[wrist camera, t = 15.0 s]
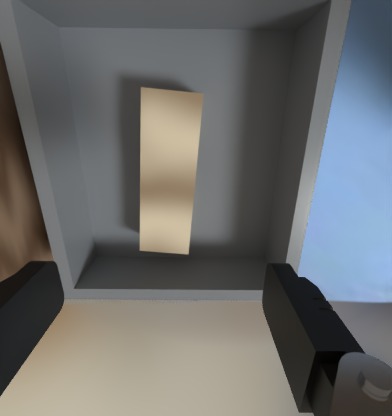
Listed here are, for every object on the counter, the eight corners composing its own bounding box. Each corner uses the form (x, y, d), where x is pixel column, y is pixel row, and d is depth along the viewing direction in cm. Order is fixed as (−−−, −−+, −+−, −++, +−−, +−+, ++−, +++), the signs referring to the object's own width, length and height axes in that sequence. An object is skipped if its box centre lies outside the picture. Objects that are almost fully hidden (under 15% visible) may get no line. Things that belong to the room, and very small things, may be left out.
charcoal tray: (45, 11, 16) (-18, -33, 11) (309, 15, 16) (357, -28, 11) (90, 262, 23) (63, 299, 18) (272, 263, 23) (291, 300, 18)
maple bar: (148, 91, 17) (140, 87, 15) (202, 96, 17) (203, 93, 15) (145, 236, 21) (139, 250, 19) (189, 239, 22) (188, 254, 19)
